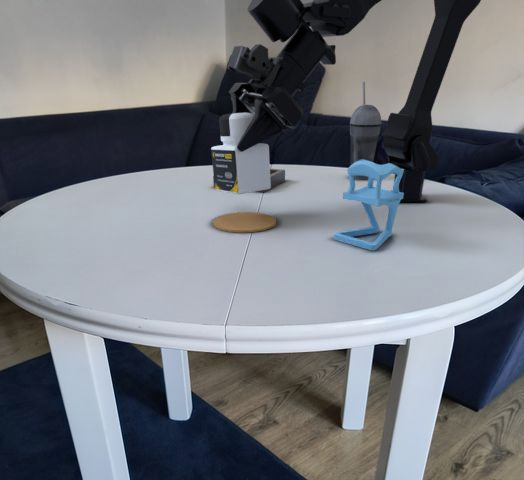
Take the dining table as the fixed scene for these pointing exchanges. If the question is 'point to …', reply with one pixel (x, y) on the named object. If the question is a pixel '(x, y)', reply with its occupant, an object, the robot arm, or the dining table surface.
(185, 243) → the dining table surface
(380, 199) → the chair
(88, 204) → the dining table surface
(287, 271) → the dining table surface
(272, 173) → the bottle holder
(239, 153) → the medicine bottle
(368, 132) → the beverage cup
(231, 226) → the cork coaster
